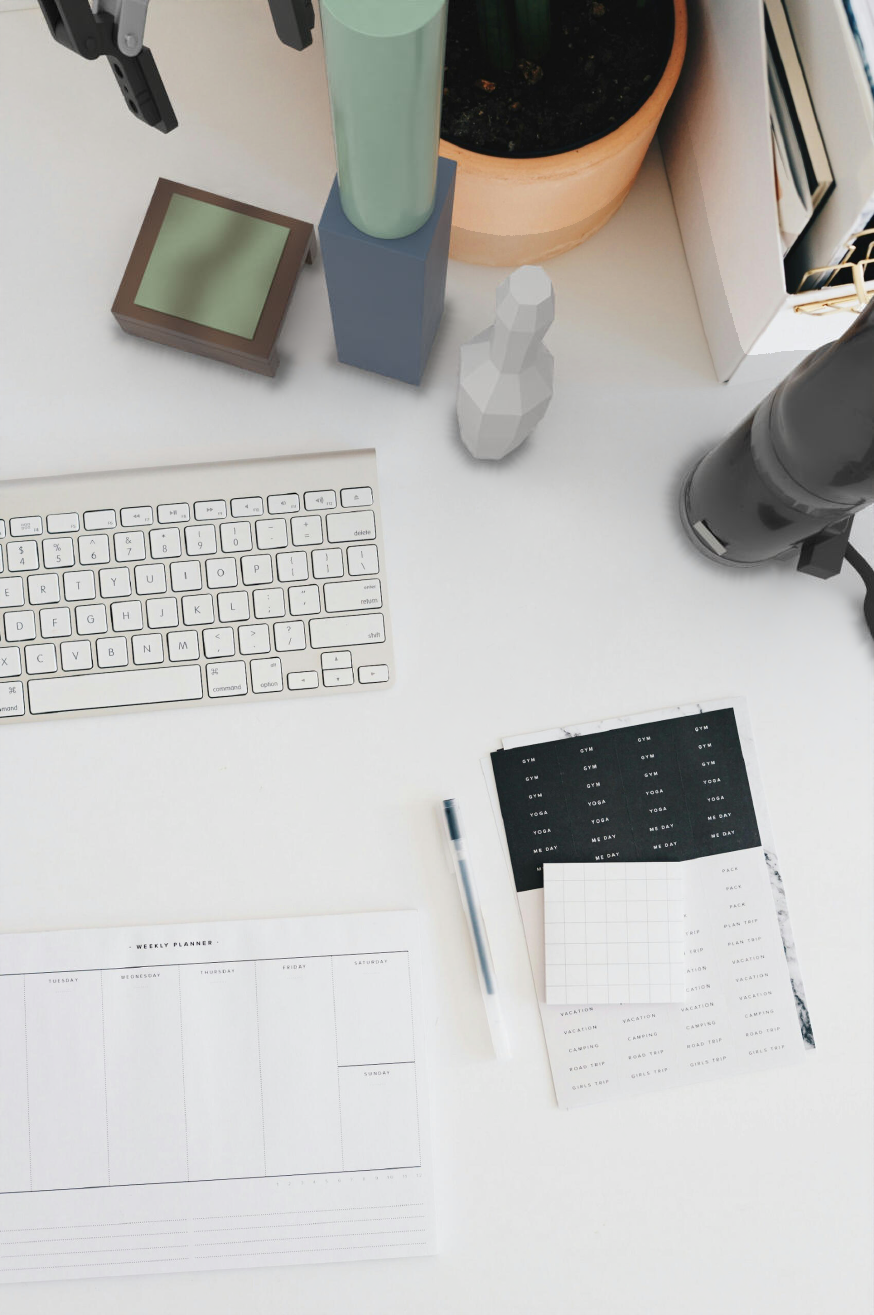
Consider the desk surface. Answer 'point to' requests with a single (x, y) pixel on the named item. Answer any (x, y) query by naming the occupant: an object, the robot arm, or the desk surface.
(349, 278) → the plinth
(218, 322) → the brown green square block
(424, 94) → the mint green cylinder
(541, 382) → the faceted bottle
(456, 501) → the desk surface
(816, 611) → the desk surface
